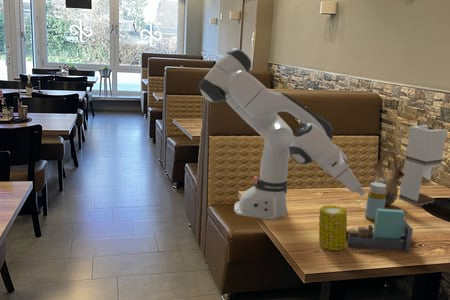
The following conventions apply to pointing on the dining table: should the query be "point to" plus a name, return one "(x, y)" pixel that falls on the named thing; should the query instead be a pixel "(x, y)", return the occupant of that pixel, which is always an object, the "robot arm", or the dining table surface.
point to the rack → (383, 241)
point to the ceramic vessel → (388, 179)
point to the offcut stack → (361, 232)
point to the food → (332, 227)
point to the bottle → (375, 199)
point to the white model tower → (421, 162)
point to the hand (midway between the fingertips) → (360, 188)
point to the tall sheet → (388, 223)
